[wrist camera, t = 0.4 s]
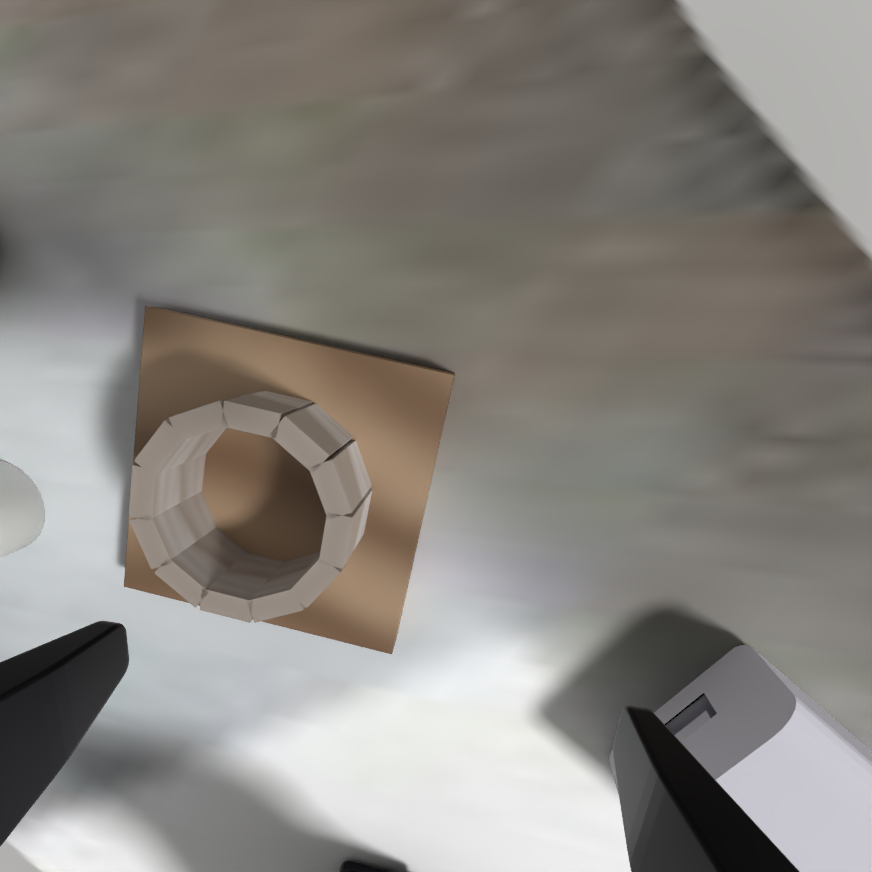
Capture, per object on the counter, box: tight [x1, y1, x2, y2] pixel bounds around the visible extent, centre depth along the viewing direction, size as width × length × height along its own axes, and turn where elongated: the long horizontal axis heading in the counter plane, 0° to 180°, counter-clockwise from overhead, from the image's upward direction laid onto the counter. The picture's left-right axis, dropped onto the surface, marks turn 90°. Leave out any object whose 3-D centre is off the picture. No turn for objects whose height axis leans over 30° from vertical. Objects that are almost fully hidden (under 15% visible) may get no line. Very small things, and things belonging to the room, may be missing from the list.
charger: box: [609, 645, 872, 872], centre depth 22 cm, size 5×9×15 cm
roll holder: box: [124, 306, 455, 654], centre depth 21 cm, size 14×14×5 cm
